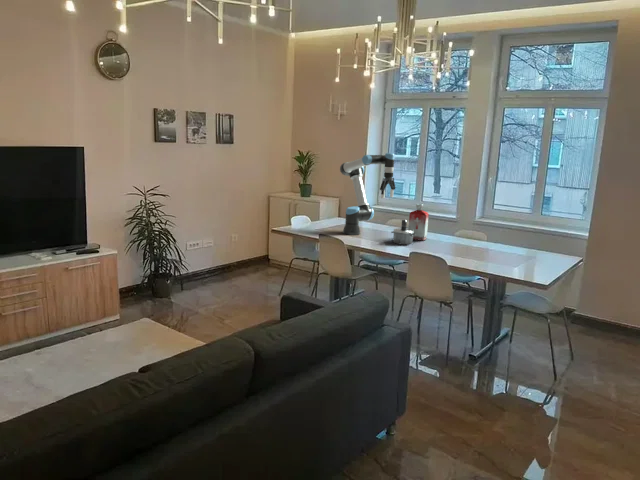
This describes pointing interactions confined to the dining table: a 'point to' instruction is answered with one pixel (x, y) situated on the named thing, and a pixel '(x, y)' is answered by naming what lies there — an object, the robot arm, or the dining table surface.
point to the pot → (403, 238)
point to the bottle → (419, 223)
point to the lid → (403, 228)
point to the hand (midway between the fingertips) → (387, 197)
